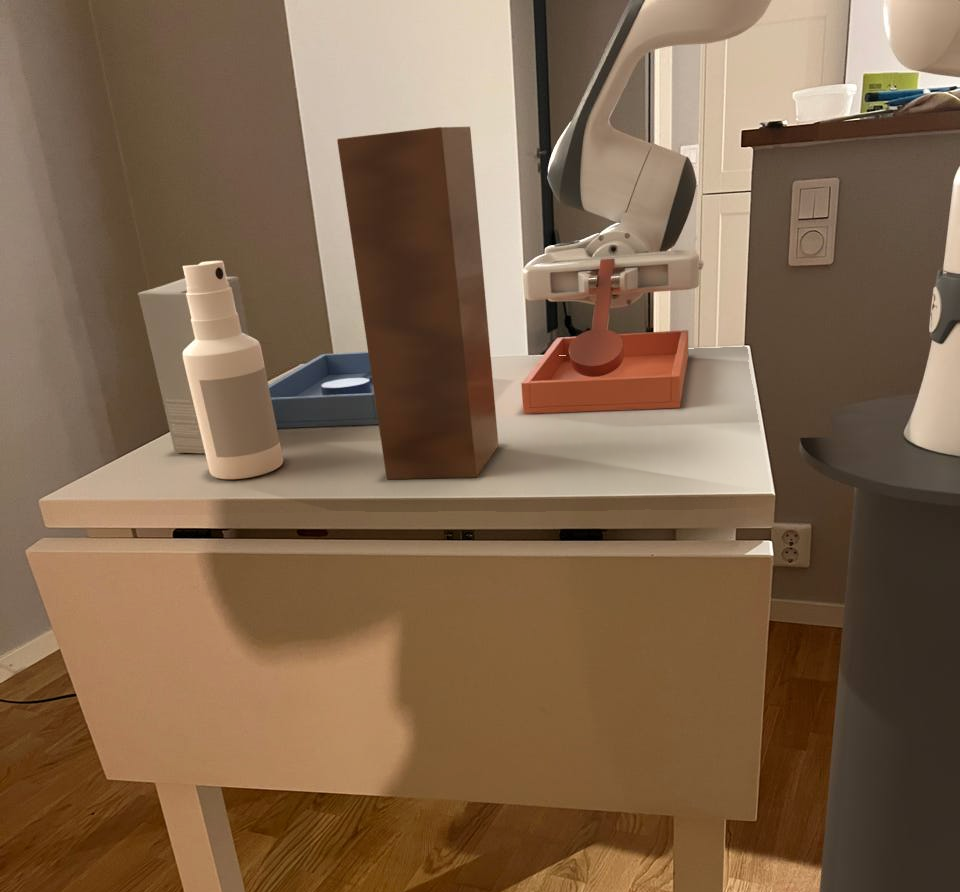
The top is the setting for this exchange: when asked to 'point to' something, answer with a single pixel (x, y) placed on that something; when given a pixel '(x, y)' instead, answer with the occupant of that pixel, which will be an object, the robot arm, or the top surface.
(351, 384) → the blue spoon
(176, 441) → the cosmetic box
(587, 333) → the terracotta spoon
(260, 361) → the spray bottle
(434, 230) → the tall brown block
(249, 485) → the top surface
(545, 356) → the terracotta tray
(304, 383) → the blue tray
